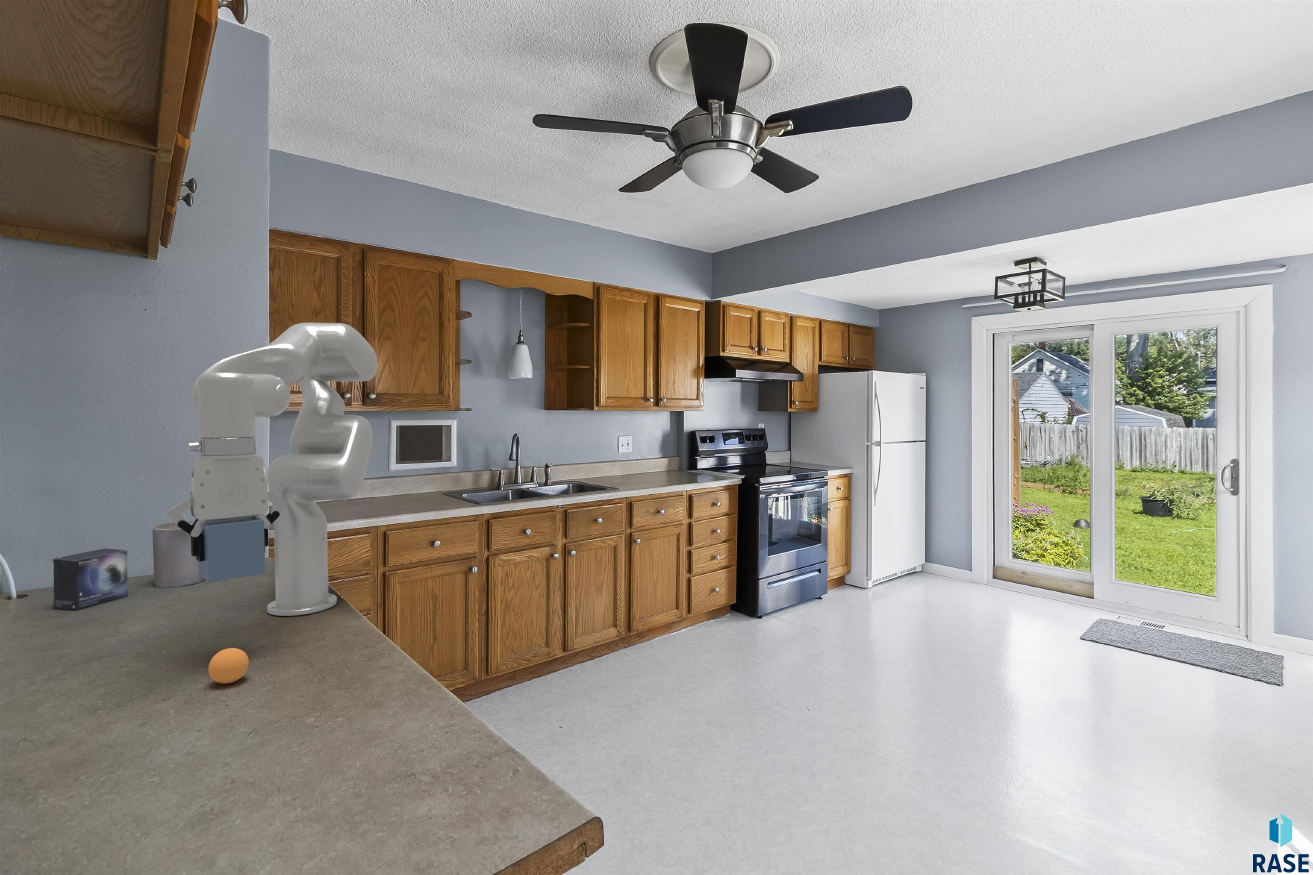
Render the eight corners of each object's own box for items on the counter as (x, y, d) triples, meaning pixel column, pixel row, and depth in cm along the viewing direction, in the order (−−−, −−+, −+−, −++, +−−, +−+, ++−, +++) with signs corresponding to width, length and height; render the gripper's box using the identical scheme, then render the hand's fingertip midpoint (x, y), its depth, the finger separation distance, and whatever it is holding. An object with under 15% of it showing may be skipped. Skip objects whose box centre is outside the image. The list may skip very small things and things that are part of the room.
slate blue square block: (198, 573, 103) (196, 520, 103) (252, 565, 109) (251, 514, 108) (208, 582, 98) (206, 526, 97) (265, 573, 103) (263, 520, 103)
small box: (77, 611, 127) (75, 560, 127) (51, 609, 129) (49, 558, 128) (130, 596, 138) (128, 548, 137) (106, 594, 139) (104, 547, 139)
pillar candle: (169, 578, 153) (166, 516, 152) (213, 575, 155) (211, 515, 154) (144, 589, 143) (141, 524, 142) (192, 587, 145) (189, 522, 144)
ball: (214, 677, 95) (213, 645, 95) (252, 672, 97) (251, 641, 97) (204, 691, 91) (203, 657, 90) (244, 686, 92) (243, 652, 92)
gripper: (164, 452, 93) (168, 569, 94) (294, 447, 106) (297, 550, 107) (156, 450, 99) (160, 560, 100) (281, 445, 111) (284, 544, 112)
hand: (231, 555), depth 103 cm, fingers closed on slate blue square block, 7 cm apart
